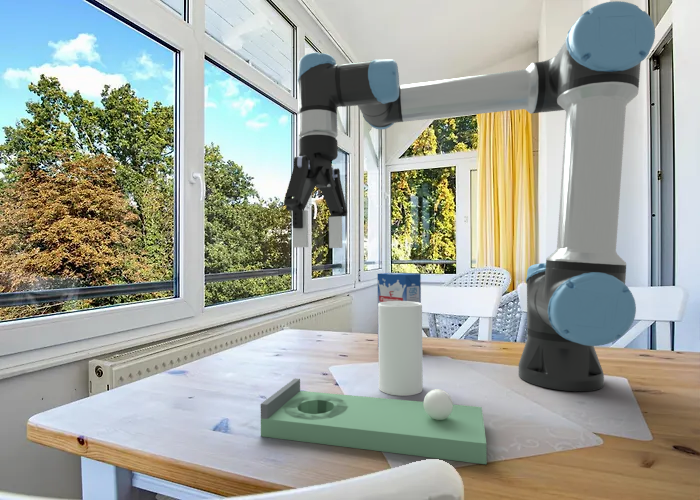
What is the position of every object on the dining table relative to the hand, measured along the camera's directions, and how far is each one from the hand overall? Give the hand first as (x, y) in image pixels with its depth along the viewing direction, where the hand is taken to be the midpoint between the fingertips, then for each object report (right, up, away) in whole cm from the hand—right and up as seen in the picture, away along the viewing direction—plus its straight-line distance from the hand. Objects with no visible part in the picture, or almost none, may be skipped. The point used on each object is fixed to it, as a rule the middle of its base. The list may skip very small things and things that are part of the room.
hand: (319, 247), depth 79 cm
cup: (+15, -27, -2) cm, 31 cm away
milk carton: (+19, -27, +30) cm, 45 cm away
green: (+9, -26, -20) cm, 34 cm away
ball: (+18, -22, -22) cm, 36 cm away
